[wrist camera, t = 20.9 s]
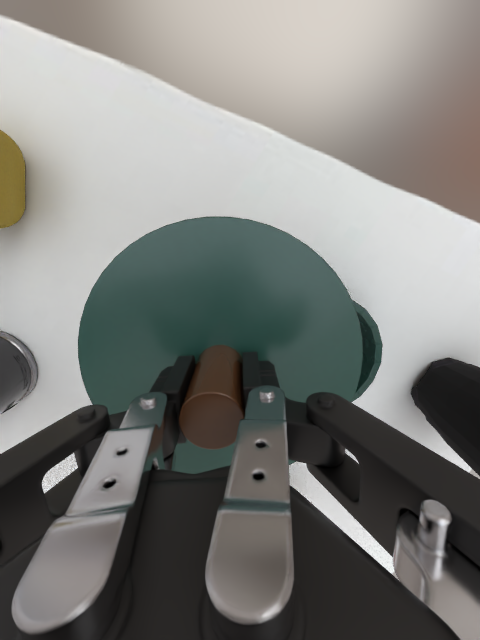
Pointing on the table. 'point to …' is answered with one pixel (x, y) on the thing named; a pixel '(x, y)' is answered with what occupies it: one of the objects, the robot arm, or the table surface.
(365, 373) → the bowl
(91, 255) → the table surface
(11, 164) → the flower pot
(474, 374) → the portable speaker
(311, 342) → the lid
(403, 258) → the table surface
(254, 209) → the table surface
